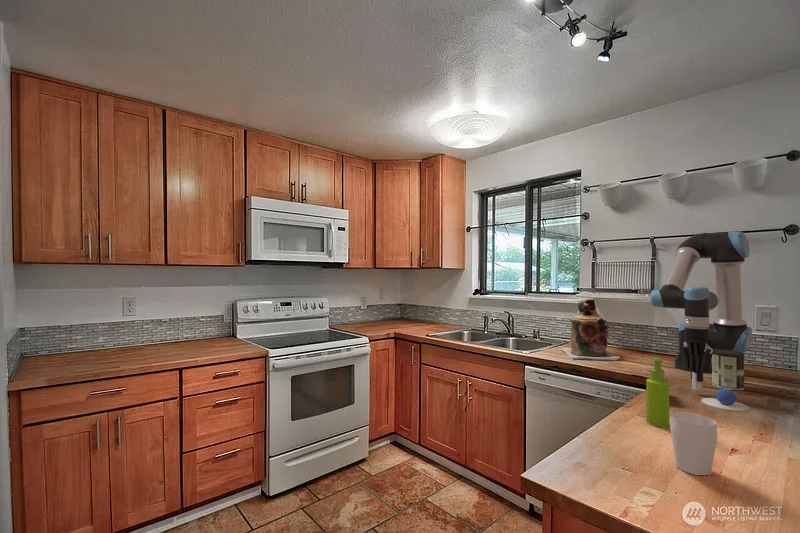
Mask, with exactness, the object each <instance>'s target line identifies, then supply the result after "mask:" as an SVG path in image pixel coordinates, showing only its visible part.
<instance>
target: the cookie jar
mask: <svg viewBox="0 0 800 533" xmlns="http://www.w3.org/2000/svg"><path fill="white" fill-rule="evenodd" d="M595 299H596V298H595V297H593V298H592V299H591V298H590V299H585V300H582V301H580V302H579V303H578V312H579V313H578V314H576V315H574V316H570V318H569V320H570V322H571V328H570V337H569V341H570V346H571V347H567V348H566V347H561V348H560V349H561V351H562V352H564V354H566V355H567V356H568V357H569V358H571V359H572V360H573V359H588V360H589V359H590V360H599V361H601V360H604V361H605V360H606V361H609V360H610V361H618V360H620V358H621V357H620V356H619V355H615V354H613V353H612V352H610V351H609V350H608V349H607V347H608V338H609V332H610V331H609V330H610V328H609V325H608V324H606V322H607V319H606V318H604V317H602V316H601V315H600V314H599V313H598V312H597V306H596V303H595V302H596V301H595ZM605 324H606V325H605Z"/></svg>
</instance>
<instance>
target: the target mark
mask: <svg viewBox="0 0 800 533" xmlns="http://www.w3.org/2000/svg"><path fill="white" fill-rule="evenodd" d="M700 402H702V403H703V404H705V405H706V406H709V407H712V408H715V409H721V410H727V411H731V412H732V411H734V412H735V411H736V412H745V411H746V412H747V411H749V410H750V407H749V405H746V404H744V403H742V402H739V401H735V403H734V404H732V405H724V404H722V403H720V402H719V401H718V400H717V398H716V397H703V398H701V401H700Z"/></svg>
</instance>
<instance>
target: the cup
mask: <svg viewBox="0 0 800 533" xmlns="http://www.w3.org/2000/svg"><path fill="white" fill-rule="evenodd" d="M717 427H718V426H717V421H715V420H714V419H713V418H711V417H708V416H706V415H701V414H698V413H693V412H688V411H687V412H686V411H677V412H676V411H675V412H672V413H671V414H670V422H669V428H670V435H671V440H672V448H673V453H674V459H675V460H674V461H675V465H677V466H676V467H677V468H678V467H679V468H680V471H682V470H683V471H682V472H684V471H685V472H684V473H687V472H688V473H687V474H689V473H691V474H690V475H693V474H694V476H697V475H704V476H703V477H706V476H705V475H708V476H710V475H712V469H713V464H714V458H715V453H716V449H717V448H716V447H717V441H718V428H717ZM679 468H678V469H679Z"/></svg>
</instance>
